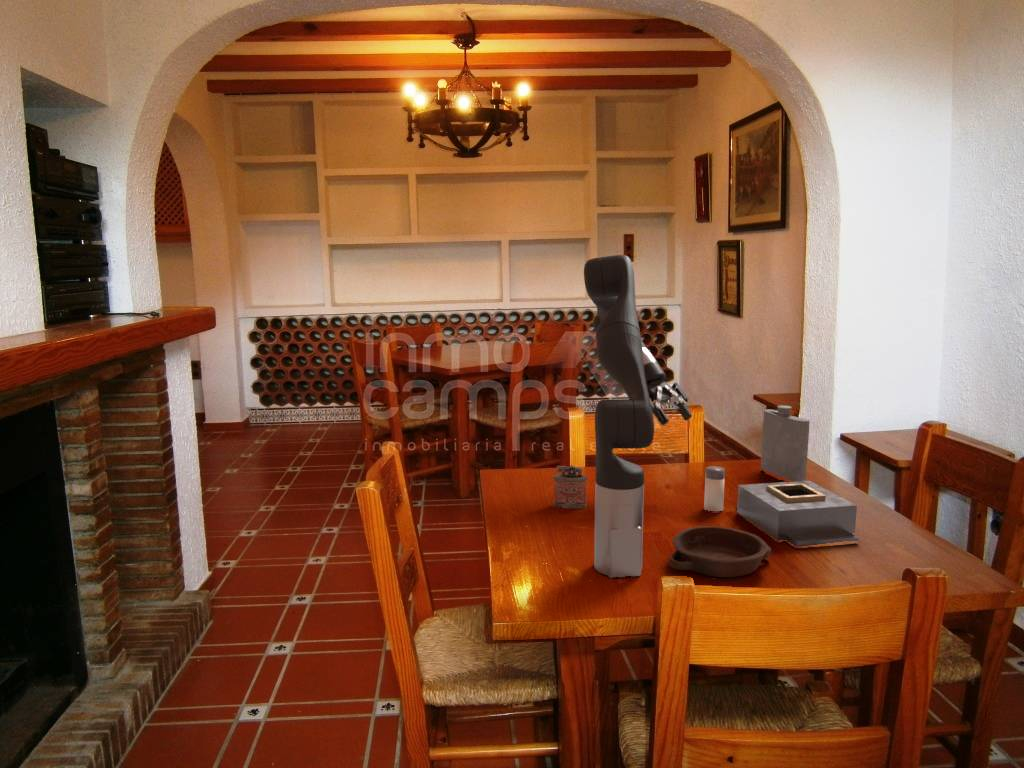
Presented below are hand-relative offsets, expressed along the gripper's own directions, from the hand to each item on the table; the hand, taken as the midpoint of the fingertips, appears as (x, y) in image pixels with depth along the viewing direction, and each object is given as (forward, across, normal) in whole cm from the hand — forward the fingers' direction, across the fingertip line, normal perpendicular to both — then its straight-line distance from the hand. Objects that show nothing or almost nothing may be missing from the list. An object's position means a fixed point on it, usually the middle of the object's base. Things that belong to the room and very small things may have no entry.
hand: (677, 421), depth 182 cm
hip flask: (+19, +35, +9) cm, 41 cm away
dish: (+37, -25, -9) cm, 46 cm away
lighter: (+6, -26, +22) cm, 34 cm away
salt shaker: (+22, 0, +5) cm, 23 cm away
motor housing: (+34, +6, -7) cm, 36 cm away
